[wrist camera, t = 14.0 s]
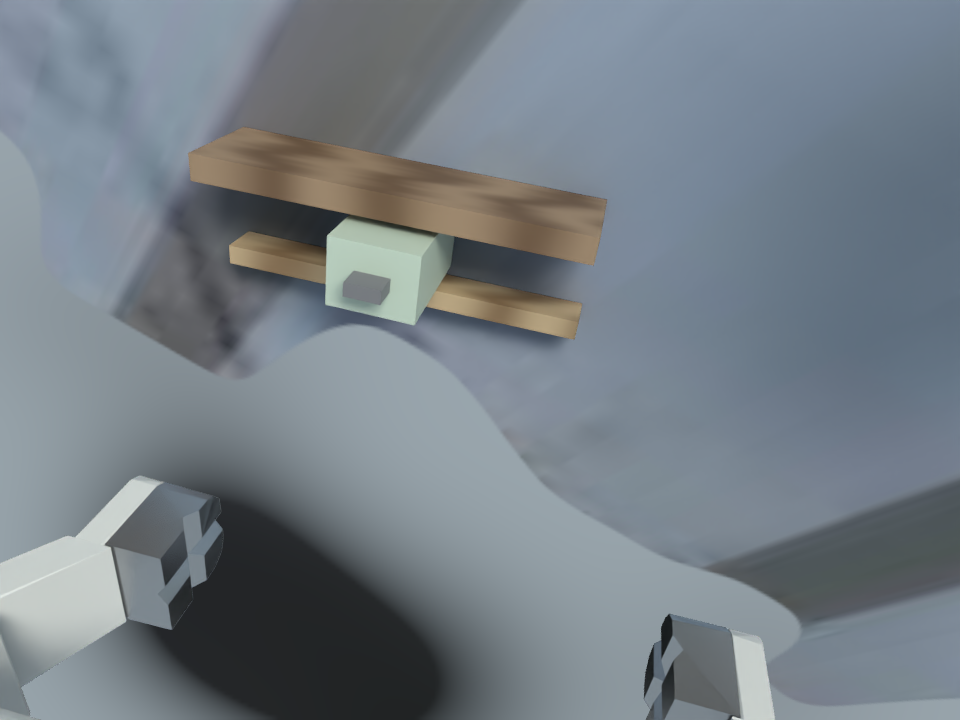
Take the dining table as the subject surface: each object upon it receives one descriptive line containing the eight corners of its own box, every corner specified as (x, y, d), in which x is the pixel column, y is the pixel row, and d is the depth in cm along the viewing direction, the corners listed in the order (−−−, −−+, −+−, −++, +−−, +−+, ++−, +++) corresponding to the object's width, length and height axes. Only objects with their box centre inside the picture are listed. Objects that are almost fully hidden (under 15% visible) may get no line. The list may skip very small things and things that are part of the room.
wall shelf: (607, 199, 40) (600, 238, 35) (578, 320, 44) (568, 370, 39) (243, 127, 42) (188, 153, 37) (249, 248, 46) (200, 286, 41)
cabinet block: (458, 205, 42) (413, 268, 34) (450, 265, 44) (406, 338, 36) (378, 188, 42) (315, 246, 34) (374, 248, 45) (313, 317, 37)
